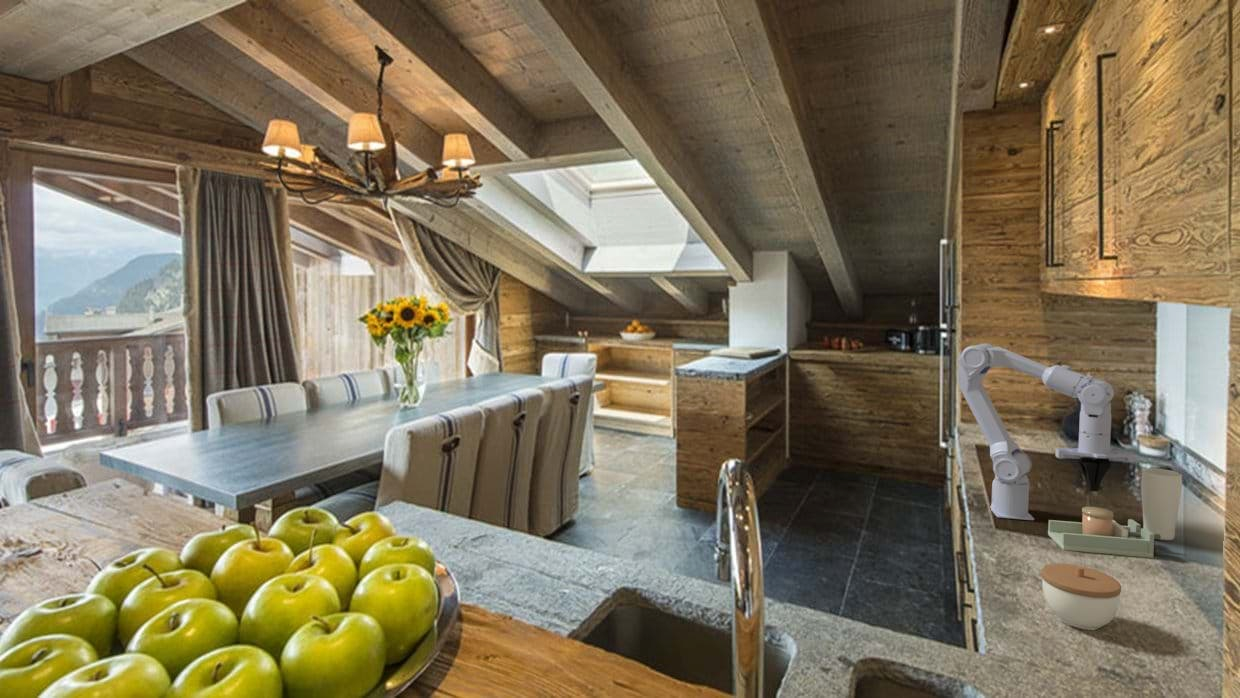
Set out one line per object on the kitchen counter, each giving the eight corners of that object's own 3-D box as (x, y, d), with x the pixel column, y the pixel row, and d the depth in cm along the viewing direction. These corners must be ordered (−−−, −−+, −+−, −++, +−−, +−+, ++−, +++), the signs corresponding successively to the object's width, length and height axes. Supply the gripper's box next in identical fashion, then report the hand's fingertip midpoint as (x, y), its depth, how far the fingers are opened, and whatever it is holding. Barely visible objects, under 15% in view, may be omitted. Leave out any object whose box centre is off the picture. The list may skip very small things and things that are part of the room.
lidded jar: (1042, 598, 109) (1044, 549, 109) (1118, 617, 103) (1121, 564, 102) (1037, 624, 101) (1039, 570, 100) (1119, 646, 94) (1122, 588, 94)
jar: (1078, 534, 135) (1079, 505, 135) (1108, 538, 133) (1109, 508, 133) (1084, 543, 131) (1085, 512, 130) (1115, 547, 128) (1116, 516, 128)
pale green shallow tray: (1047, 534, 139) (1048, 513, 138) (1131, 541, 134) (1132, 519, 133) (1063, 549, 130) (1064, 527, 130) (1153, 557, 125) (1154, 534, 125)
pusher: (1107, 535, 134) (1107, 519, 134) (1150, 539, 132) (1151, 522, 131) (1121, 546, 128) (1122, 530, 128) (1167, 550, 125) (1168, 533, 125)
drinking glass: (1180, 545, 131) (1184, 478, 130) (1140, 538, 135) (1143, 473, 134) (1176, 535, 137) (1180, 471, 135) (1137, 528, 141) (1140, 466, 139)
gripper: (1064, 434, 136) (1062, 492, 137) (1141, 437, 132) (1139, 497, 133) (1052, 428, 143) (1050, 483, 144) (1125, 431, 139) (1123, 488, 140)
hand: (1092, 489), depth 139 cm, fingers closed
